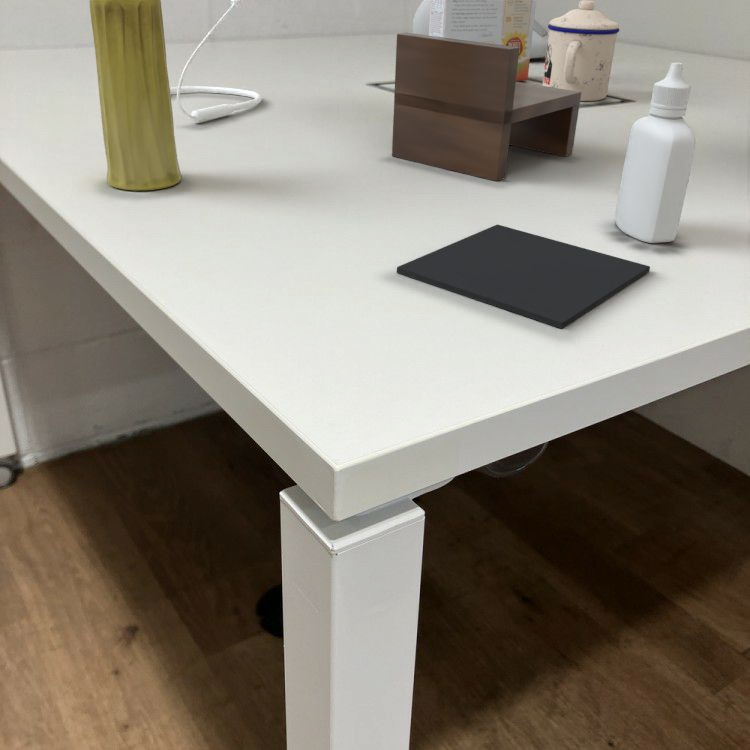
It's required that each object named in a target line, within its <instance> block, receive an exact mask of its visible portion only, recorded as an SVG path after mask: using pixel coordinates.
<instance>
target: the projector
mask: <svg viewBox="0 0 750 750" xmlns="http://www.w3.org/2000/svg"><path fill="white" fill-rule="evenodd" d="M429 14H430V0H422V1H421V3H420V4H419V6H418V7H417V9H416V11H415V13H414V15H413V19H412V33H414V34H421V35H429ZM548 37H549V31H548V30H547V29H546V28H545V27H543V26H542V24H540V23H539V22H538V21H537V20H536V19H535V18H534V25H533V35H532V44H531V53H530V60H531V59H539V58H543V57H546V52H547V45H548Z"/></svg>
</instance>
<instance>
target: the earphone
mask: <svg viewBox="0 0 750 750" xmlns="http://www.w3.org/2000/svg"><path fill="white" fill-rule="evenodd" d="M229 1H230V7H228V9H227V10H226V12H224V14H223V15H222V16H221V17H220V18H219V20H218V21H217V22H216V23H215V25H213V27H212V28H210V30H209V31H208V33H207V34H206V35H205V36H204V38H203V39H202V40H201V42H200V43H199V44H198V45H197V47H196V48H195V50H194V51H193V52H192V54H191V55H190V57H189V58H188V60H187V62H186V64H185V66H184V68H183V70H182V72H181V75H180V77H179V80H178V83H177V86H169V87H170V95H172V94H176V102H177V107H178V108H179V110H180V112H181V113H182V114H183V115H184V116H186V117H187V118H189V119H191V121H192V122H193V123H194V124H199V123H203V122H208V121H210V120H215V119H220V118H224V117H228V116H230V115H231V114H232V113H234V112H236V111H240V110H245V109H249V108H252V107H254V106H257V105H258V104H260V103H261V102H262V100H263V99H262V95H261V94H260V93H259V92H256V91H252V90H247V89H241V88H234V87H233V88H231V87H223V86H221V87H220V86H219V87H218V86H206V85H205V86H204V85H203V86H202V85H184V86H183V85H182V84H183V81H184V78H185V75H186V73H187V71H188V69H189V67H190V65H191V63H192V61H193V60H194V59H195V57H196V55H197V54H198V53H199V51H200V50H201V48H202V47H203V46H204V45H205V43H206V42H207V41H208V40H209V38H210V37H211V36H212V35H213V33H214V32H215V31H216V30H217V28H218V27H219V26H220V25H221V24H222V23H223V21H224V20H225V19H226V18H227V17H228V15H229V14H230V13H231V12H232V11H233V10H234V8H238V7H239V6H240V5H241V4H242V3H243V2H244V0H229ZM182 93H211V94H212V93H213V94H226V95H235V96H243V97H248V98H252V99H250V100H246V101H243V102H237V103H234V104H230V103H222V104H218V105H212V106H209V107H204V108H199V109H194V110H192V111H191V112H190V113H188V112H187V111H186V110H185V109H184V108H183V106H182V103H181V94H182Z"/></svg>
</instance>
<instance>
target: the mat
mask: <svg viewBox="0 0 750 750" xmlns="http://www.w3.org/2000/svg"><path fill="white" fill-rule="evenodd" d="M650 271H651V266H650V265H647V264H643V263H639V262H636V261H632V260H628V259H625V258H622V257H617V256H614V255H610V254H607V253H603V252H599V251H595V250H592V249H588V248H585V247H581V246H577V245H573V244H570V243H566V242H562V241H559V240H555V239H552V238H549V237H544V236H541V235H537V234H534V233H530V232H526V231H523V230H520V229H516V228H512V227H508V226H505V225H502V224H497V223H496V224H495V225H493V226H489V227H488V228H485V229H483V230H480V231H479V232H476V233H474V234H471V235H469V236H467V237H464V238H462V239H460V240H457V241H455V242H452V243H451V244H448V245H445V246H443V247H441V248H438V249H436V250H434V251H431V252H429V253H427V254H425V255H422V256H419V257H418V258H417V257H416V258H415V259H412V260H410V261H408V262H405V263H403V264H401V265H398V266H397V267H396V273H397V274H400V275H403V276H406V277H409V278H412V279H414V280H418V281H421V282H423V283H426V284H430V285H432V286H435V287H438V288H441V289H444V290H447V291H450V292H453V293H456V294H459V295H462V296H465V297H468V298H470V299H474V300H476V301H480V302H482V303H485V304H488V305H491V306H494V307H497V308H500V309H503V310H506V311H509V312H511V313H515V314H517V315H520V316H524V317H526V318H529V319H532V320H535V321H537V322H541V323H543V324H547V325H550V326H553V327H556V328H558V329H563V328H565V327H567V326H568V325H569V324H572V323H573V322H574V321H575V320H577V319H579V318H580V317H582V316H583V315H586V313H588V312H590V311H591V310H593V309H594V308H596V307H597V306H599V305H601V304H602V303H603V302H605V301H606V300H609V298H611V297H613V296H615V295H616V294H617V293H619V292H620V291H623V289H625V288H627V287H628V286H629V285H631V284H632V283H634V282H636V281H637V280H639V279H641V278H642V277H643V276H645V275H647V274H649V273H650Z"/></svg>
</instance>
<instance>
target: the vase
mask: <svg viewBox="0 0 750 750" xmlns="http://www.w3.org/2000/svg"><path fill="white" fill-rule="evenodd" d="M89 12H90V22H91V29H92V36H93V45H94V54H95V63H96V74H97V83H98V84H97V85H98V94H99V95H98V96H99V105H100V116H101V117H100V119H101V125H102V127H101V128H102V136H103V143H104V144H103V145H104V150H105V159H106V165H107V170H106V171H107V172H106V182H107V184H108V185H109V186H111V187H113V188H116V189H119V190H124V191H138V192H139V191H140V192H141V191H144V192H145V191H157V190H161V189H165V188H166V189H167V188H170V187H173V186H175V185H177V184H178V183H180V181H181V179H182V173H181V172H182V171H181V169H180V165H179V160H178V153H177V146H176V145H177V144H176V137H175V127H174V126H175V125H174V116H173V115H174V114H173V113H174V112H173V104H172V98H171V95H172V94H170V87H171V86H170V81H169V72H168V65H167V63H168V62H167V49H166V39H165V29H164V28H165V27H164V17H163V9H162V0H89Z"/></svg>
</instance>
